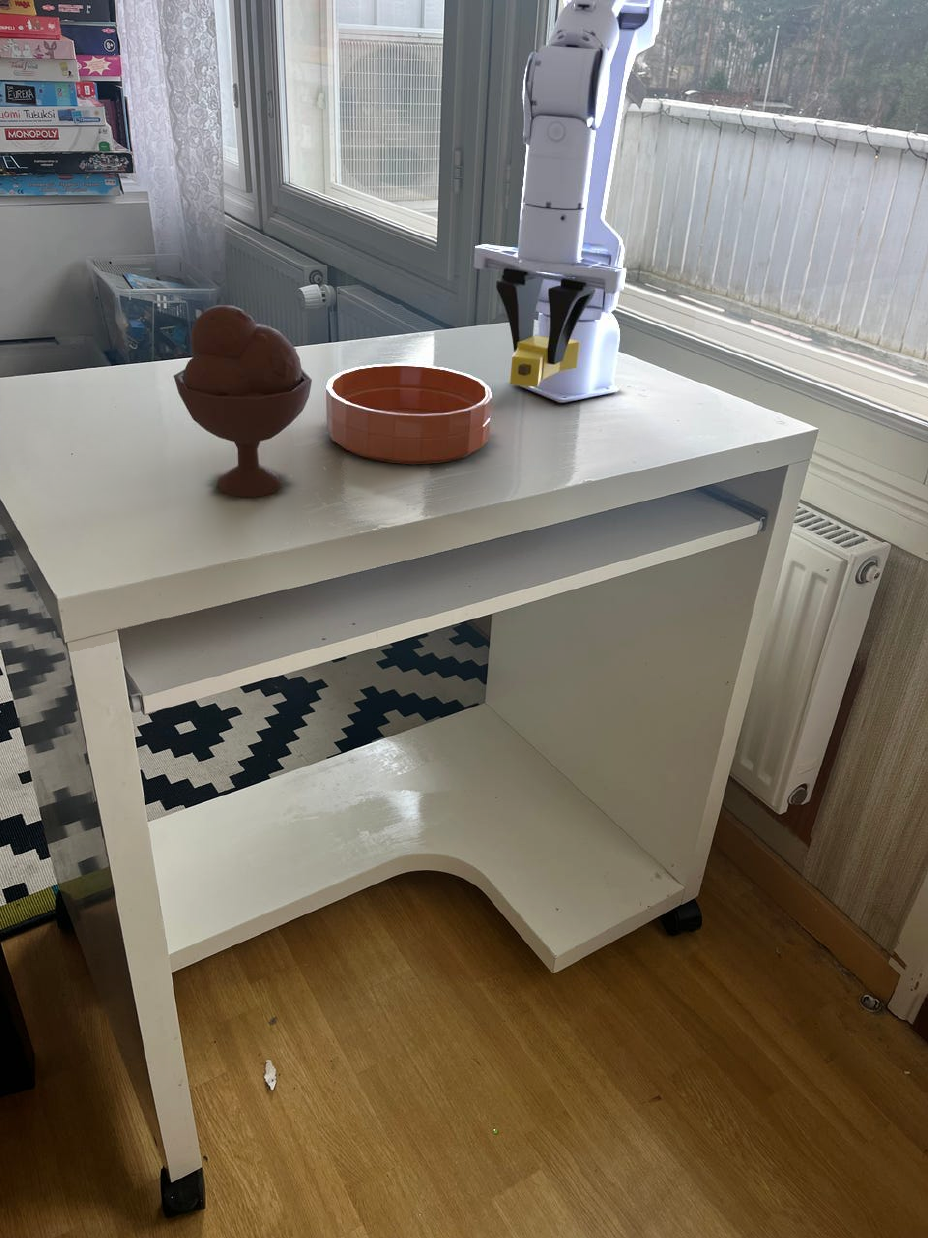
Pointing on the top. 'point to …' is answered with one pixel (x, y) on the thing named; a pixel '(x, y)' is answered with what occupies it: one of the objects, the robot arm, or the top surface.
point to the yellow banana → (539, 361)
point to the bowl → (408, 413)
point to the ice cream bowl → (242, 390)
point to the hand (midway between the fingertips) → (538, 357)
